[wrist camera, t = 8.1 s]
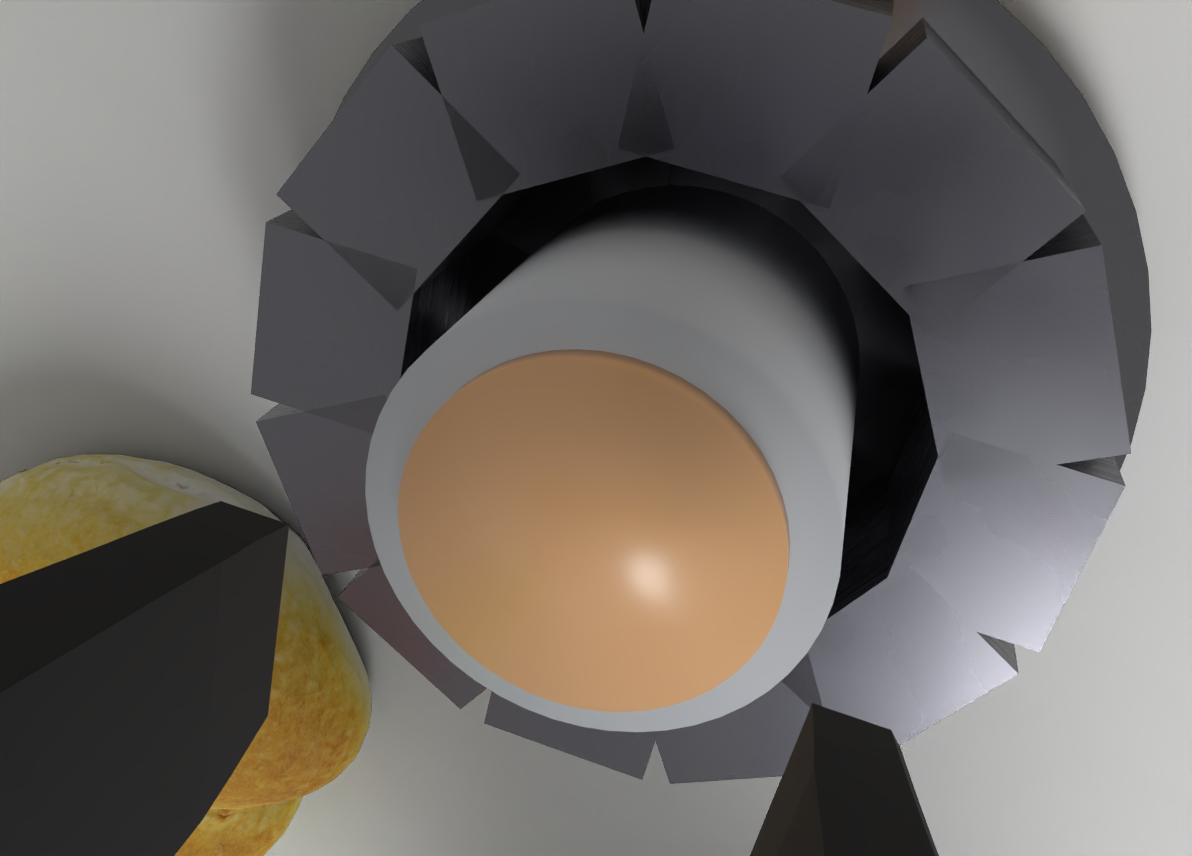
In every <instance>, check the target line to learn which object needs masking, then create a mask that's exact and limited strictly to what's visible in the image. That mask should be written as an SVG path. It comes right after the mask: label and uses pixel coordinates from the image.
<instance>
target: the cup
mask: <svg viewBox="0 0 1192 856" xmlns="http://www.w3.org/2000/svg"><path fill="white" fill-rule="evenodd" d="M859 369H860V357H859V341H858V336H857V331H856V325H855V320H854V317H853V314H852V311H851V308H850V305H849V303H848V300H847V297H846V295H845V293H844V291H843V289H842V287H841V285H840V283H839V281H838V279H837V277H836V275H835V274H834V273H833V271H832V270H831V268H830V267H829V265H828V264H827V262H826V261H825V260H824V258H823V257H822V255H821V254H820V253H819V252H818V251H817V250H816V249H815V248H814V247H813V246H812V244H811V243H810V242H809V241H808V240H807V239H806V238H805V237H804V236H803V235H801V234H800V233H799V232H798V231H797V230H795V229H794V228H793V227H792V226H791V225H790V224H788V223H787V222H786V221H784V220H783V219H781V218H779V217H778V216H776V215H775V214H773V213H772V212H770V211H768V210H767V209H765V208H763V207H761V206H759V205H757V204H755V203H752V202H750V201H748V200H746V199H744V198H741V197H738V196H735V195H732V194H728V193H725V192H722V191H719V190H713V189H708V188H702V187H696V186H678V185H667V186H656V187H646V188H641V189H637V190H633V191H628V192H624V193H621V194H618V195H616V196H613V197H610V198H608V199H605V200H603V201H600V202H599V203H597V204H595V205H593V206H591V207H589V208H588V209H586V210H584V211H582V212H581V213H579V214H578V215H577V216H575V217H574V218H573V219H571V220H570V221H569V222H567V223H566V224H565V225H563V226H562V227H561V228H560V229H559V230H558V231H557V232H556V233H554V234H553V235H552V236H551V237H550V238H549V239H548V240H547V241H546V242H545V243H543V244H542V245H541V246H540V247H539V248H538V249H537V250H536V251H535V252H534V253H532V254H531V255H530V256H529V257H528V258H527V259H526V260H525V261H524V262H523V263H521V264H520V265H519V266H518V267H517V268H516V269H515V270H514V271H513V272H512V273H510V274H509V275H508V276H507V277H506V278H505V279H504V280H503V281H502V282H501V283H499V284H498V285H497V286H496V287H495V288H494V289H493V290H492V291H491V292H490V293H489V294H487V295H486V296H485V297H484V298H483V299H482V300H481V301H480V302H479V303H478V304H476V305H475V306H474V307H473V308H472V309H471V310H470V311H469V312H468V313H467V314H465V315H464V316H463V317H462V318H461V319H460V320H459V321H458V322H457V323H456V324H454V325H453V326H452V327H451V328H450V329H449V330H448V331H447V332H446V333H445V334H443V335H442V336H441V337H440V338H439V339H438V340H437V341H436V342H435V343H434V344H432V345H431V346H430V347H429V348H428V349H427V350H426V351H425V352H424V353H423V354H422V355H421V356H420V357H419V358H418V359H417V360H416V361H415V362H414V363H413V364H412V365H411V366H410V367H409V368H408V369H407V371H406V372H405V373H404V375H403V376H402V378H401V379H400V380H399V382H398V383H397V384H396V386H395V387H394V388H393V390H392V391H391V393H390V395H389V397H388V399H387V401H386V403H385V405H384V407H383V409H382V411H381V413H380V415H379V417H378V420H377V423H376V426H375V429H374V432H373V435H372V438H371V442H370V448H369V453H368V459H367V465H366V487H365V496H366V505H367V514H368V522H369V526H370V530H371V535H372V539H373V543H374V547H375V550H376V552H377V555H378V558H379V560H380V563H381V565H382V568H383V571H384V573H385V575H386V577H387V579H388V581H389V583H390V585H391V587H392V589H393V591H394V592H395V594H396V596H397V598H398V600H399V601H400V603H401V604H402V606H403V607H404V609H405V610H406V611H407V613H408V614H409V616H410V617H411V619H412V620H413V622H414V623H415V624H416V625H417V626H418V628H419V629H420V630H421V631H422V632H423V634H424V635H425V636H426V637H427V638H428V639H429V641H430V642H431V643H432V644H433V645H434V646H435V647H436V648H437V649H438V650H439V651H440V652H441V653H442V654H444V655H445V656H446V657H447V658H448V659H449V660H450V661H451V662H452V663H453V664H454V665H456V666H457V667H458V668H460V669H461V670H462V671H463V672H465V673H466V674H467V675H469V676H470V677H471V678H472V679H474V680H475V681H477V682H478V683H480V684H481V685H483V686H485V687H486V688H488V689H489V690H491V691H493V692H494V693H496V694H497V695H499V696H501V697H503V698H505V699H507V700H509V701H511V702H513V703H515V704H517V705H519V706H521V707H523V708H525V709H527V710H530V711H533V712H535V713H538V714H541V715H543V716H546V717H549V718H551V719H554V720H558V721H562V722H566V723H570V724H573V725H577V726H581V727H587V728H594V729H600V730H607V731H622V732H650V731H666V730H672V729H677V728H683V727H688V726H694V725H697V724H700V723H703V722H707V721H710V720H713V719H716V718H719V717H722V716H724V715H726V714H729V713H731V712H733V711H735V710H737V709H739V708H742V707H744V706H746V705H747V704H749V703H751V702H752V701H754V700H755V699H757V698H759V697H760V696H762V695H763V694H765V693H766V692H768V691H769V690H771V689H772V688H773V687H774V686H775V685H776V684H778V683H779V682H780V681H781V680H782V679H783V678H785V677H786V676H787V675H788V674H789V673H790V672H791V671H792V670H793V669H794V668H795V666H796V665H797V664H798V663H799V662H800V661H801V659H802V658H803V657H804V656H805V655H806V654H807V652H808V651H809V649H810V648H811V646H812V645H813V643H814V641H815V640H816V638H817V637H818V635H819V633H820V632H821V630H822V628H823V626H824V624H825V621H826V619H827V617H828V614H829V612H830V610H831V607H832V605H833V602H834V598H835V594H836V590H837V586H838V582H839V578H840V570H841V560H842V549H843V539H844V528H845V517H846V507H847V496H848V486H849V475H850V465H851V454H852V443H853V433H854V422H855V412H856V401H857V390H858V380H859Z"/></svg>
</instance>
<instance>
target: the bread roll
mask: <svg viewBox="0 0 1192 856" xmlns="http://www.w3.org/2000/svg"><path fill="white" fill-rule="evenodd" d="M219 501H223V502H226V503H228V504H231V505H234V506H237V507H240V508H243V509H246V510H249V511H252V512H255V513H258V514H261V515H264V516H267V517H269V518H272V519H275V520H278V521H281V520H279V519H278V518H277V517H276V516H275V515H273V514H272V513H271V512H270V511H269V510H268V509H267V508H266V507H265V506H263V505H262V504H260V503H259V502H257V501H255V500H254V499H252V498H250V497H248V496H247V495H245V494H243V493H241V492H239V491H237V490H235V489H233V488H231V487H229V486H227V485H225V484H223V483H221V482H219V481H217V480H215V479H213V478H210V477H207V476H205V475H202V474H200V473H198V472H196V471H194V470H191V469H188V468H185V467H181V466H178V465H175V464H171V463H168V462H164V461H158V460H148V459H143V458H137V457H132V456H126V455H107V454H91V455H75V456H69V457H63V458H57V459H53V460H51V461H48V462H45V463H42V464H40V465H38V466H36V467H34V468H31V469H29V470H27V471H26V470H25V469H24V470H21V471H20V472H19V473H18V474H15V475H13V476H11V477H9V478H7V479H5V480H3V481H1V482H0V584H1V583H4V582H7V581H9V580H12V579H14V578H17V577H20V576H22V575H25V574H28V573H30V572H33V571H36V570H38V569H41V568H44V567H46V566H49V565H52V564H54V563H57V562H59V561H62V560H65V559H67V558H70V557H73V556H75V555H78V554H80V553H83V552H86V551H88V550H91V549H93V548H96V547H98V546H101V545H104V544H106V543H109V542H111V541H114V540H116V539H119V538H121V537H124V536H127V535H129V534H132V533H134V532H137V531H139V530H142V529H145V528H147V527H150V526H152V525H155V524H158V523H160V522H163V521H166V520H168V519H171V518H173V517H176V516H179V515H182V514H184V513H187V512H190V511H193V510H195V509H198V508H201V507H204V506H207V505H210V504H213V503H216V502H219ZM281 522H282V521H281ZM371 708H372V698H371V689H370V683H369V677H368V675H367V672H366V670H365V667H364V665H363V662H362V660H361V657H360V655H359V653H358V651H357V648H356V646H355V644H354V642H353V640H352V638H351V636H350V634H349V631H348V629H347V627H346V625H345V623H344V621H343V619H342V616H341V614H340V612H339V610H338V608H337V606H336V605H335V603H334V601H333V599H332V597H331V594H330V591H329V589H328V587H327V585H326V583H325V581H324V579H323V576H322V574H321V572H320V570H319V568H318V566H317V564H316V562H315V561H314V559H313V557H312V555H311V554H310V552H309V550H308V548H307V546H306V545H305V543H304V542H303V541H302V540H301V539H300V538H299V536H298V535H297V534H296V533H294V532H293V531H292V530H291V529H290V528H289V532H288V541H287V550H286V559H285V568H284V577H283V585H282V594H281V603H280V612H279V621H278V630H277V639H276V648H275V657H274V666H273V675H272V684H271V693H270V701H269V710H268V716H267V718H266V720H265V721H264V723H263V724H262V726H261V728H260V729H259V731H258V733H257V734H256V736H255V738H254V739H253V741H252V742H251V744H250V746H249V747H248V749H247V751H246V752H245V754H244V756H243V757H242V759H241V760H240V762H239V764H238V765H237V767H236V769H235V770H234V772H233V774H232V775H231V777H230V778H229V780H228V781H227V783H226V784H225V786H224V787H223V789H222V791H221V792H220V794H219V795H218V797H217V798H216V800H215V801H214V803H213V804H212V806H211V808H210V809H209V811H208V812H207V814H206V815H205V817H204V818H203V820H202V821H201V823H200V824H199V825H198V826H197V828H196V829H195V830H194V832H193V833H192V834H191V835H190V837H189V838H188V839H187V840H186V842H185V843H184V844H183V846H182V847H181V848H180V849H179V851H178V852H177V853H176V854H175V856H264V855H265V854H266V853H267V851H268V850H269V849H270V848H271V847H272V846H273V845H274V844H275V843H276V842H277V840H278V839H279V838H280V837H281V836H282V835H283V834H284V832H285V830H286V829H287V827H288V825H289V823H290V822H291V820H292V818H293V816H294V815H295V813H296V811H297V809H298V807H299V804H300V802H301V799H302V797H303V796H304V795H306V794H309V793H311V792H313V791H315V790H317V789H319V788H320V787H322V786H324V785H326V784H327V783H329V782H331V781H332V780H334V779H335V778H336V777H337V776H338V775H339V774H341V773H342V772H343V771H344V769H345V768H346V767H347V766H348V765H349V764H350V763H351V762H352V761H353V760H354V758H355V757H356V755H357V754H358V752H359V750H360V748H361V745H362V743H363V740H364V738H365V735H366V733H367V731H368V728H369V723H370V716H371Z"/></svg>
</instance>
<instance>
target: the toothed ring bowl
mask: <svg viewBox="0 0 1192 856" xmlns="http://www.w3.org/2000/svg"><path fill="white" fill-rule="evenodd" d="M667 185H678V186H696V187H702V188H708V189H713V190H719V191H722V192H725V193H728V194H732V195H735V196H738V197H741V198H744V199H746V200H748V201H750V202H752V203H755V204H757V205H759V206H761V207H763V208H765V209H767V210H768V211H770V212H772V213H773V214H775V215H776V216H778V217H779V218H781V219H783V220H784V221H786V222H787V223H788V224H790V225H791V226H792V227H793V228H794V229H795V230H797V231H798V232H799V233H800V234H801V235H803V236H804V237H805V238H806V239H807V240H808V241H809V242H810V243H811V244H812V246H813V247H814V248H815V249H816V250H817V251H818V252H819V253H820V254H821V255H822V257H823V258H824V260H825V261H826V262H827V264H828V265H829V267H830V268H831V270H832V271H833V273H834V274H835V275H836V277H837V279H838V281H839V283H840V285H841V287H842V289H843V291H844V293H845V295H846V297H847V300H848V303H849V305H850V308H851V311H852V314H853V317H854V320H855V325H856V331H857V336H858V341H859V357H860V369H859V380H858V390H857V401H856V412H855V422H854V433H853V443H852V454H851V465H850V475H849V486H848V496H847V507H846V517H845V528H844V539H843V549H842V560H841V570H840V578H839V582H838V586H837V590H836V594H835V598H834V602H833V605H832V607H831V610H830V612H829V614H828V617H827V619H826V621H825V624H824V626H823V628H822V630H821V632H820V633H819V635H818V637H817V638H816V640H815V641H814V643H813V645H812V646H811V648H810V649H809V651H808V652H807V654H806V655H805V656H804V657H803V658H802V659H801V661H800V662H799V663H798V664H797V665H796V666H795V668H794V669H793V670H792V671H791V672H790V673H789V674H788V675H787V676H786V677H785V678H783V679H782V680H781V681H780V682H779V683H778V684H776V685H775V686H774V687H773V688H772V689H771V690H769V691H768V692H766V693H765V694H763V695H762V696H760V697H759V698H757V699H755V700H754V701H752V702H751V703H749V704H747V705H746V706H744V707H742V708H739V709H737V710H735V711H733V712H731V713H729V714H726V715H724V716H722V717H719V718H716V719H713V720H710V721H707V722H703V723H700V724H697V725H694V726H688V727H683V728H677V729H672V730H666V731H650V732H622V731H607V730H600V729H594V728H587V727H581V726H577V725H573V724H570V723H566V722H562V721H558V720H554V719H551V718H549V717H546V716H543V715H541V714H538V713H535V712H533V711H530V710H527V709H525V708H523V707H521V706H519V705H517V704H515V703H513V702H511V701H509V700H507V699H505V698H503V697H501V696H499V695H497V694H496V693H494V692H493V691H492V692H491V697H490V701H489V705H488V710H487V714H486V718H485V724H488V725H490V726H493V727H496V728H499V729H502V730H504V731H507V732H510V733H513V734H516V735H518V736H521V737H524V738H527V739H530V740H532V741H535V742H538V743H541V744H544V745H546V746H549V747H552V748H555V749H558V750H560V751H563V752H566V753H569V754H572V755H574V756H577V757H580V758H583V759H586V760H588V761H591V762H594V763H597V764H600V765H602V766H605V767H608V768H611V769H614V770H616V771H619V772H622V773H625V774H628V775H630V776H633V777H636V778H639V779H643V776H644V773H645V770H646V767H647V764H648V761H649V758H650V755H651V752H652V749H653V745H654V742H655V740H656V743H657V746H658V749H659V752H660V755H661V758H662V761H663V764H664V767H665V770H666V773H667V776H668V779H669V782H670V784H674V783H688V782H703V781H717V780H732V779H747V778H761V777H776V776H783V774H784V771H785V769H786V766H787V764H788V761H789V759H790V756H791V754H792V751H793V749H794V747H795V744H796V742H797V739H798V737H799V734H800V732H801V729H802V727H803V724H804V722H805V719H806V717H807V715H808V712H809V710H810V707H811V705H812V703H814V704H817V705H820V706H823V707H826V708H829V709H831V710H834V711H837V712H840V713H843V714H846V715H849V716H852V717H855V718H858V719H861V720H864V721H867V722H869V723H872V724H875V725H878V726H881V727H884V728H887V729H890V730H892V732H893V734H894V736H895V738H896V740H897V742H898V744H899V745H900V744H902V743H904V742H905V741H907V740H909V739H910V738H912V737H914V736H915V735H917V734H919V733H920V732H922V731H924V730H925V729H927V728H929V727H930V726H932V725H934V724H935V723H937V722H939V721H940V720H942V719H944V718H945V717H947V716H949V715H951V714H952V713H954V712H956V711H957V710H959V709H961V708H962V707H964V706H966V705H967V704H969V703H971V702H972V701H974V700H976V699H977V698H979V697H981V696H982V695H984V694H986V693H987V692H989V691H991V690H992V689H994V688H996V687H997V686H999V685H1001V684H1002V683H1004V682H1006V681H1008V680H1009V679H1011V678H1013V677H1014V676H1016V675H1018V674H1019V673H1018V667H1017V660H1016V654H1015V647H1014V644H1015V645H1019V646H1022V647H1025V648H1028V649H1031V650H1034V651H1037V652H1040V650H1041V648H1042V646H1043V645H1044V643H1045V641H1046V639H1047V637H1048V635H1049V633H1050V631H1051V629H1052V627H1053V625H1054V623H1055V621H1056V619H1057V617H1058V615H1059V613H1060V612H1061V610H1062V608H1063V606H1064V604H1065V602H1066V600H1067V598H1068V596H1069V594H1070V592H1071V590H1072V588H1073V586H1074V584H1075V582H1076V581H1077V579H1078V577H1079V575H1080V573H1081V571H1082V569H1083V567H1084V565H1085V563H1086V561H1087V559H1088V557H1089V555H1090V553H1091V551H1092V550H1093V548H1094V546H1095V544H1096V542H1097V540H1098V538H1099V536H1100V534H1101V532H1102V530H1103V528H1104V526H1105V524H1106V522H1107V520H1108V518H1109V517H1110V515H1111V513H1112V511H1113V509H1114V507H1115V505H1116V503H1117V501H1118V499H1119V497H1120V495H1121V493H1122V491H1123V489H1124V487H1125V484H1124V481H1123V479H1122V476H1121V474H1120V469H1121V467H1122V464H1123V462H1124V459H1125V457H1126V455H1127V454H1131V449H1130V445H1131V442H1132V439H1133V435H1134V431H1135V427H1136V423H1137V419H1138V415H1139V411H1140V407H1141V404H1142V400H1143V396H1144V392H1145V387H1146V377H1147V368H1148V358H1149V348H1150V338H1151V316H1150V296H1149V276H1148V268H1147V263H1146V258H1145V253H1144V248H1143V243H1142V238H1141V233H1140V229H1139V224H1138V219H1137V214H1136V210H1135V207H1134V205H1133V202H1132V199H1131V197H1130V194H1129V191H1128V188H1127V186H1126V183H1125V180H1124V178H1123V175H1122V172H1121V170H1120V167H1119V164H1118V161H1117V159H1116V156H1115V153H1114V151H1113V149H1112V148H1111V146H1110V144H1109V142H1108V140H1107V139H1106V137H1105V135H1104V133H1103V131H1102V130H1101V128H1100V126H1099V124H1098V122H1097V121H1096V119H1095V117H1094V115H1093V113H1092V112H1091V110H1090V108H1089V106H1088V104H1087V103H1086V101H1085V99H1084V97H1083V96H1082V94H1081V93H1080V92H1079V90H1078V89H1077V88H1076V87H1075V85H1074V84H1073V83H1072V81H1071V80H1070V79H1069V77H1068V76H1067V75H1066V74H1065V72H1064V71H1063V70H1062V68H1061V67H1060V66H1059V64H1058V63H1057V62H1056V61H1055V59H1054V58H1053V57H1052V55H1051V54H1050V53H1049V52H1048V50H1047V49H1046V48H1045V46H1044V45H1043V44H1042V43H1041V42H1040V41H1039V40H1038V39H1037V38H1036V37H1035V36H1034V35H1033V34H1032V33H1031V32H1030V31H1029V30H1028V29H1026V28H1025V27H1024V26H1023V25H1022V24H1021V23H1020V22H1019V21H1018V20H1017V19H1016V18H1015V17H1014V16H1013V15H1012V14H1011V13H1010V12H1009V11H1008V10H1007V9H1006V8H1005V7H1004V6H1002V5H1001V4H1000V3H999V2H998V1H997V0H422V1H421V2H420V3H419V4H417V5H416V6H415V7H414V8H413V9H411V10H410V11H409V13H408V14H407V15H406V16H405V17H404V18H403V19H402V21H401V22H400V23H399V24H398V25H397V26H396V27H395V28H394V30H393V31H392V32H391V33H390V34H389V35H388V36H387V38H386V39H385V40H384V41H383V42H382V43H381V44H380V45H379V47H378V48H377V49H376V50H375V51H374V52H373V54H372V55H371V57H370V58H369V60H368V62H367V63H366V65H365V66H364V68H363V69H362V71H361V72H360V74H359V75H358V77H357V78H356V80H355V81H354V83H353V84H352V86H351V87H350V89H349V91H348V92H347V94H346V95H345V97H344V99H343V101H342V103H341V105H340V107H339V109H338V111H337V113H336V116H335V118H334V120H333V121H332V123H331V124H330V125H329V127H328V128H327V129H326V130H325V132H324V133H323V134H322V136H321V137H320V138H319V140H318V141H317V142H316V144H315V145H314V146H313V147H312V149H311V150H310V151H309V153H308V154H307V155H306V157H305V158H304V159H303V160H302V162H301V163H300V164H299V166H298V167H297V168H296V170H295V171H294V172H293V173H292V175H291V176H290V177H289V179H288V180H287V181H286V183H285V184H284V185H283V187H282V188H281V189H280V190H279V192H278V193H277V195H278V196H279V197H280V198H281V199H282V200H283V201H284V202H285V203H286V204H287V205H288V206H289V207H290V208H291V209H292V210H290V211H288V212H286V213H284V214H282V215H280V216H278V217H276V218H274V219H272V220H270V221H267V222H266V229H265V241H264V252H263V263H262V275H261V286H260V298H259V309H258V321H257V332H256V343H255V355H254V366H253V378H252V389H251V394H253V395H256V396H259V397H262V398H265V399H268V400H271V401H274V402H277V403H279V404H278V405H276V406H275V407H274V408H272V409H271V410H270V411H269V412H267V413H266V414H265V415H264V416H262V417H261V418H260V419H258V420H257V421H256V423H257V425H258V428H259V430H260V432H261V435H262V437H263V439H264V442H265V444H266V446H267V449H268V451H269V453H270V456H271V458H272V460H273V463H274V465H275V467H276V470H277V472H278V474H279V477H280V479H281V481H282V484H283V486H284V488H285V491H286V493H287V495H288V498H289V500H290V502H291V505H292V507H293V509H294V512H295V514H296V516H297V519H298V521H299V523H300V526H301V528H302V530H303V533H304V535H305V537H306V540H307V542H308V544H309V546H310V549H311V551H312V553H313V556H314V558H315V560H316V563H317V565H318V567H319V570H320V572H321V574H322V575H324V574H330V573H337V572H344V571H350V570H357V569H361V570H360V571H359V572H358V573H357V575H356V576H355V577H354V578H353V579H352V581H351V582H350V583H349V584H348V585H347V587H346V588H345V589H344V590H343V592H342V593H341V594H340V595H339V596H338V598H339V599H340V600H341V601H343V602H344V603H345V604H346V605H347V606H348V607H349V608H350V609H351V610H352V611H354V612H355V613H356V614H357V615H358V616H359V617H360V618H361V619H362V620H363V621H364V622H366V623H367V624H368V625H369V626H370V627H371V628H372V629H373V630H374V631H375V632H377V633H378V634H379V635H380V636H381V637H382V638H383V639H384V640H385V641H386V642H388V643H389V644H390V645H391V646H392V647H393V648H394V649H395V650H396V651H397V652H398V653H400V654H401V655H402V656H403V657H404V658H405V659H406V660H407V661H408V662H409V663H411V664H412V665H413V666H414V667H415V668H416V669H417V670H418V671H419V672H420V673H422V674H423V675H424V676H425V677H426V678H427V679H428V680H429V681H430V682H431V683H432V684H434V685H435V686H436V687H437V688H438V689H439V690H440V691H441V692H442V693H443V694H445V695H446V696H447V697H448V698H449V699H450V700H451V701H452V702H453V703H454V704H455V705H457V706H458V707H459V708H460V709H461V708H463V707H464V706H465V705H466V704H468V703H469V702H470V701H471V700H473V699H474V698H475V697H476V696H478V695H479V694H480V693H482V692H483V691H484V690H485V689H487V688H486V687H485V686H483V685H481V684H480V683H478V682H477V681H475V680H474V679H472V678H471V677H470V676H469V675H467V674H466V673H465V672H463V671H462V670H461V669H460V668H458V667H457V666H456V665H454V664H453V663H452V662H451V661H450V660H449V659H448V658H447V657H446V656H445V655H444V654H442V653H441V652H440V651H439V650H438V649H437V648H436V647H435V646H434V645H433V644H432V643H431V642H430V641H429V639H428V638H427V637H426V636H425V635H424V634H423V632H422V631H421V630H420V629H419V628H418V626H417V625H416V624H415V623H414V622H413V620H412V619H411V617H410V616H409V614H408V613H407V611H406V610H405V609H404V607H403V606H402V604H401V603H400V601H399V600H398V598H397V596H396V594H395V592H394V591H393V589H392V587H391V585H390V583H389V581H388V579H387V577H386V575H385V573H384V571H383V568H382V565H381V563H380V560H379V558H378V555H377V552H376V550H375V547H374V543H373V539H372V535H371V530H370V526H369V522H368V514H367V505H366V496H365V487H366V465H367V459H368V453H369V448H370V442H371V438H372V435H373V432H374V429H375V426H376V423H377V420H378V417H379V415H380V413H381V411H382V409H383V407H384V405H385V403H386V401H387V399H388V397H389V395H390V393H391V391H392V390H393V388H394V387H395V386H396V384H397V383H398V382H399V380H400V379H401V378H402V376H403V375H404V373H405V372H406V371H407V369H408V368H409V367H410V366H411V365H412V364H413V363H414V362H415V361H416V360H417V359H418V358H419V357H420V356H421V355H422V354H423V353H424V352H425V351H426V350H427V349H428V348H429V347H430V346H431V345H432V344H434V343H435V342H436V341H437V340H438V339H439V338H440V337H441V336H442V335H443V334H445V333H446V332H447V331H448V330H449V329H450V328H451V327H452V326H453V325H454V324H456V323H457V322H458V321H459V320H460V319H461V318H462V317H463V316H464V315H465V314H467V313H468V312H469V311H470V310H471V309H472V308H473V307H474V306H475V305H476V304H478V303H479V302H480V301H481V300H482V299H483V298H484V297H485V296H486V295H487V294H489V293H490V292H491V291H492V290H493V289H494V288H495V287H496V286H497V285H498V284H499V283H501V282H502V281H503V280H504V279H505V278H506V277H507V276H508V275H509V274H510V273H512V272H513V271H514V270H515V269H516V268H517V267H518V266H519V265H520V264H521V263H523V262H524V261H525V260H526V259H527V258H528V257H529V256H530V255H531V254H532V253H534V252H535V251H536V250H537V249H538V248H539V247H540V246H541V245H542V244H543V243H545V242H546V241H547V240H548V239H549V238H550V237H551V236H552V235H553V234H554V233H556V232H557V231H558V230H559V229H560V228H561V227H562V226H563V225H565V224H566V223H567V222H569V221H570V220H571V219H573V218H574V217H575V216H577V215H578V214H579V213H581V212H582V211H584V210H586V209H588V208H589V207H591V206H593V205H595V204H597V203H599V202H600V201H603V200H605V199H608V198H610V197H613V196H616V195H618V194H621V193H624V192H628V191H633V190H637V189H641V188H646V187H656V186H667Z"/></svg>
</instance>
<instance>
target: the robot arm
mask: <svg viewBox="0 0 1192 856" xmlns="http://www.w3.org/2000/svg"><path fill="white" fill-rule="evenodd" d="M288 532H289V524H287V523H284V522H281V521H278V520H275V519H272V518H269V517H267V516H264V515H261V514H258V513H255V512H252V511H249V510H246V509H243V508H240V507H237V506H234V505H231V504H228V503H226V502H223V501H219V502H216V503H213V504H210V505H207V506H204V507H201V508H198V509H195V510H193V511H190V512H187V513H184V514H182V515H179V516H176V517H173V518H171V519H168V520H166V521H163V522H160V523H158V524H155V525H152V526H150V527H147V528H145V529H142V530H139V531H137V532H134V533H132V534H129V535H127V536H124V537H121V538H119V539H116V540H114V541H111V542H109V543H106V544H104V545H101V546H98V547H96V548H93V549H91V550H88V551H86V552H83V553H80V554H78V555H75V556H73V557H70V558H67V559H65V560H62V561H59V562H57V563H54V564H52V565H49V566H46V567H44V568H41V569H38V570H36V571H33V572H30V573H28V574H25V575H22V576H20V577H17V578H14V579H12V580H9V581H7V582H4V583H1V584H0V856H175V854H176V853H177V852H178V851H179V849H180V848H181V847H182V846H183V844H184V843H185V842H186V840H187V839H188V838H189V837H190V835H191V834H192V833H193V832H194V830H195V829H196V828H197V826H198V825H199V824H200V823H201V821H202V820H203V818H204V817H205V815H206V814H207V812H208V811H209V809H210V808H211V806H212V804H213V803H214V801H215V800H216V798H217V797H218V795H219V794H220V792H221V791H222V789H223V787H224V786H225V784H226V783H227V781H228V780H229V778H230V777H231V775H232V774H233V772H234V770H235V769H236V767H237V765H238V764H239V762H240V760H241V759H242V757H243V756H244V754H245V752H246V751H247V749H248V747H249V746H250V744H251V742H252V741H253V739H254V738H255V736H256V734H257V733H258V731H259V729H260V728H261V726H262V724H263V723H264V721H265V720H266V718H267V716H268V710H269V701H270V693H271V684H272V675H273V666H274V657H275V648H276V639H277V630H278V621H279V612H280V603H281V594H282V585H283V577H284V568H285V559H286V550H287V541H288ZM750 856H939V855H938V853H937V850H936V847H935V845H934V842H933V839H932V837H931V834H930V831H929V828H928V826H927V823H926V820H925V817H924V815H923V812H922V809H921V806H920V804H919V801H918V798H917V795H916V792H915V789H914V786H913V784H912V781H911V778H910V775H909V772H908V769H907V766H906V763H905V760H904V757H903V754H902V751H901V748H900V746H899V744H898V742H897V740H896V738H895V736H894V734H893V732H892V730H890V729H887V728H884V727H881V726H878V725H875V724H872V723H869V722H867V721H864V720H861V719H858V718H855V717H852V716H849V715H846V714H843V713H840V712H837V711H834V710H831V709H829V708H826V707H823V706H820V705H817V704H814V703H812V705H811V707H810V710H809V712H808V715H807V717H806V719H805V722H804V724H803V727H802V729H801V732H800V734H799V737H798V739H797V742H796V744H795V747H794V749H793V751H792V754H791V756H790V759H789V761H788V764H787V766H786V769H785V771H784V774H783V776H782V779H781V781H780V783H779V786H778V788H777V791H776V793H775V796H774V798H773V801H772V803H771V806H770V808H769V810H768V813H767V815H766V818H765V820H764V823H763V825H762V828H761V830H760V833H759V835H758V838H757V840H756V842H755V845H754V847H753V850H752V852H751V855H750Z"/></svg>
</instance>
